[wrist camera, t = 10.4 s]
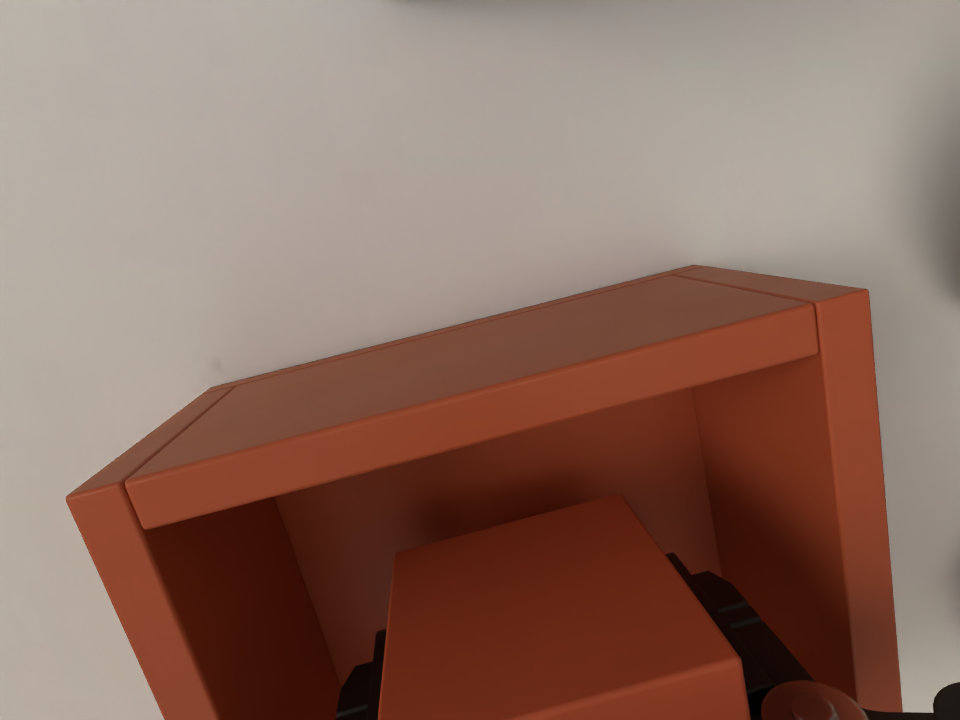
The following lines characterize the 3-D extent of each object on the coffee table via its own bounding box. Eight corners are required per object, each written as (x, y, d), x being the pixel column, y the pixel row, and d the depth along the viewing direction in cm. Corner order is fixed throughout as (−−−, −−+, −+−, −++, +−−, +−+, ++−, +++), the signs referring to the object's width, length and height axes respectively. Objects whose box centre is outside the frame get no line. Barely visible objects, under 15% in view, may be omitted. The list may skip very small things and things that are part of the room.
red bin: (353, 781, 16) (317, 1063, 11) (208, 387, 13) (61, 497, 8) (756, 669, 17) (917, 885, 11) (695, 264, 14) (870, 288, 8)
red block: (451, 739, 12) (465, 1025, 8) (392, 551, 11) (371, 762, 7) (659, 681, 13) (786, 931, 8) (621, 490, 12) (743, 658, 7)
